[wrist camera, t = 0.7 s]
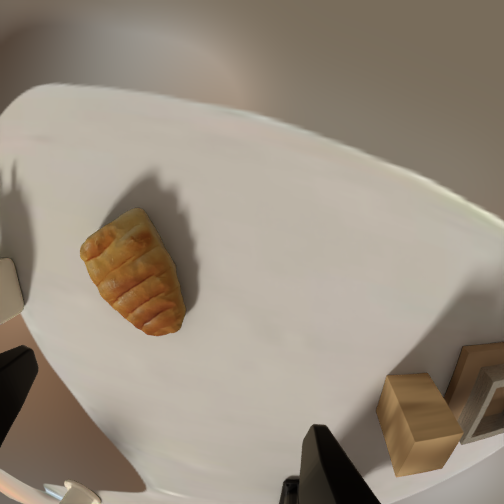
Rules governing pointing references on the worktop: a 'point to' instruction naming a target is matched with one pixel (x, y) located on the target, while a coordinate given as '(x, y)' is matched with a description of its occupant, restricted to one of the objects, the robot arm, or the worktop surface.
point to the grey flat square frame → (482, 406)
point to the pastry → (136, 273)
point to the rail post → (416, 424)
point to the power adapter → (9, 291)
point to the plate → (474, 377)
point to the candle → (79, 494)
